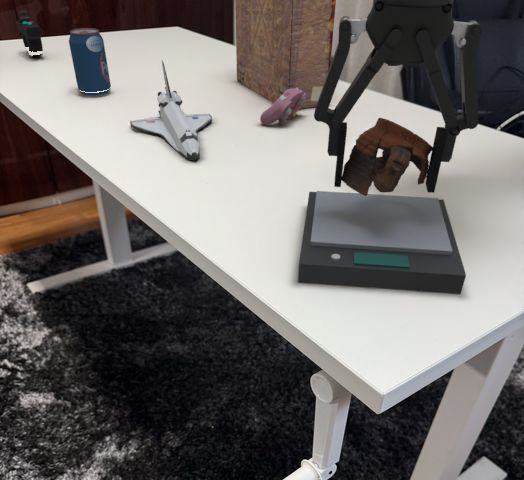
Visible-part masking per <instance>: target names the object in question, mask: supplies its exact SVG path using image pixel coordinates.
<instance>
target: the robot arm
mask: <svg viewBox="0 0 524 480" xmlns="http://www.w3.org/2000/svg"><path fill="white" fill-rule="evenodd" d="M453 5H454V0H372V6H371V10H370V11H369V13H368V15H367V16H366V18H365V17H364V18H363V17H361V18H351V17H349V16H348V15H344V16H342V17H341V18H340V20H339V23H338V42H337V45H336V48H335V51H334V53H333V56H332V59H331V65H330V68H329V71H328V74H327V76H326V79H325V82H324V85H323V88H322V91H321V93H320V96H319V99H318V102H317V105H316V106H315V108H314V113H313V118H314V120H315V121H316V122H318V123H320V122H322V123H324V124H325V125H327V127H328V139H327V141H328V142H327V154H328V156H329V157H336V163H335V172H334V173H335V174H334V186H333V187H334V188H341V187H342V175H343V171H344V160H345V151H346V142H347V132H348V122H347V121H345V120H346V118H347V117H348V115H349V114H350V112H351V111H352V110H353V108H354V106H355V105H356V104H357V102H358V100H359V99H360V98H361V96H362V95H363V94H364V92H365V91H366V89H367V87H368V86H369V85H370V84H371V82H372V80H373V79H374V77H375V76H376V75H377V74H378V73H379V72H380V70H381V68H382V67H383V65H387V67H399V66H402V65H405V66H408V67H411V68H419V67H420V66H422V65H423V66H424V67H425V70H426V72H427V76H428V79H429V81H430V84H431V87H432V91H433V93H434V96H435V99H436V102H437V104H438V107H439V111H440V113H441V116H442V119H443V123H444V126H436V131H435V135H434V139H433V144H432V147H433V150H432V151H431V152H430V158H429V167H428V173H427V175H426V179H425V181H424V183H425V187H426V192H427V193H430V194H431V193H433V194H435V191H436V187H437V182H438V178H439V173H440V169H441V165H442V163H449V162H450V161H451V160H452V158H453V153H454V149H455V145H456V142H457V141H456V140H457V137H458V136H459V135H460V134H461V132H462V131H465V130H467V129H469V130H475V129H476V128H477V127H478V125H479V101H478V99H479V97H478V77H477V76H478V70H477V49H478V46H479V43H480V40H481V36H482V32H483V28H482V26H481V25H480V24H479V23H478V22H477V21H476V20H474V19H470V20H468V21H467V22H466V21H456V20H454V18H453ZM364 32H366V34H367V36H368V37H369V40H370V41H371V44H372V45H373V49H372V50H371V52H370V53H369V54H368V56H367V58H366V60H365V62H364V63H363V65H362V67H361V68H360V69H359V71H358V72H357V74H356V75H355V77H354V79H353V80H352V81H351V83H350V85H349V86H348V88H347V90H346V91H345V92H344V94H343V95H342V97H341V98H340V100H339V101H338V103H337V105H336V106H334V107H335V108H334V109H332V108H329V107H330V105H331V102H332V100H333V97H334V94H335V91H336V89H337V86H338V83H339V80H340V78H341V75H342V73H343V72H342V71H343V70H344V67H345V64H346V61H347V59H348V56H349V53H350V49H351V45H353V44H356V43H357V42H358V41H359V39H360V36H361V34H363V33H364ZM451 35H453V36H454V43H455V45H456V46H457V47H458V48H459V66H460V67H459V69H460V86H461V106H462V113H461V114H458V115H456V111H455V109H454V105H453V103H452V100H451V97H450V94H449V91H448V87H447V84H446V82H445V79H444V76H443V73H442V70H441V69H442V68H441V66H440V63H439V60H438V56H437V54H436V52H437V51H438V50H439V49H440V47H441V46H442V45H443V44H444V43H445V42H446V41H447V39H448V38H449V37H450V36H451Z"/></svg>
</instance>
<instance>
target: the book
mask: <svg viewBox="0 0 524 480" xmlns="http://www.w3.org/2000/svg"><path fill="white" fill-rule="evenodd" d="M234 1H235V2H234V3H235V4H234V5H235V7H234V9H235V44H236V45H235V49H236V53H235V54H236V56H235V57H236V81H237V83H239V84H241V85H242V86H244V87H245V88H248V89H249V90H251V91H253V92H255V93H257V94H258V95H260V96H262V97H264V98H266V99H267V100H269V101H271V102H272V103H274V102H275V101H276V100H277V99H278V98H279V97H280V96H281V95H283V93H284V92H285V91H286V90H287V89H291V88H298V89H299V90H303V91H304V92H305V93H306V94H307V98H306V100H305V102H304V104H303V105H302V106H301V107H300V108H299V110H300V109H307V108H308V109H309V108H314V107H315V108H316V105H317V102H318V99H319V96H320V93H321V91H322V88H323V85H324V82H325V79H326V76H327V74H328V71H329V68H330V65H331V62H332V52H333V40H334V28H335V18H336V17H335V15H336V4H337V0H234Z"/></svg>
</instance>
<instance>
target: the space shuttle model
mask: <svg viewBox="0 0 524 480" xmlns="http://www.w3.org/2000/svg"><path fill="white" fill-rule="evenodd" d="M161 66H162V67H161V68H162V73H163V79H164V84H165V85H164V89H165V92H164V91H163V92H162V91H159V92H157V98H156V100H157V102H158V107H159V110H158V115H159V116H153V117H147V118H141V119H140V118H139V119H134V120H129V125H130V126H131V127H132V128H133V129H136V130H139V131H142V132H144V133H145V132H146V133H149V134H153V135H154V134H155V135H158V136H160V137H162V138H163V139H164V140H165V141H166V142H167V143H168V145H170V146H171V147H172V148H173V149H174V150H175V151H177V152H178V153H179V154H180V155H181V156H182V157H184V158H185V159H186V160H189V161H195V160H199V159H200V157H201V153H200V152H201V151H200V142H199V137H198V132H199V131H200V130H202V129H203V128H205V127H206V126H207V125H208V124H210V123H211V122H212V121H213V116H212V115H211V114H210V113H190V114H188V113H187V114H185V112H184V110H183V109H182V107H181V105H182V104H183V99H182V98H181V96H180V95H179V94H178V92H177V90H172V91H171V87H170V83H169V79H168V75H167V71H166V67H165V63H164V61H163V60H161Z"/></svg>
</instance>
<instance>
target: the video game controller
mask: <svg viewBox="0 0 524 480" xmlns="http://www.w3.org/2000/svg"><path fill="white" fill-rule="evenodd" d="M306 98H307V94H306V93H305V92H304V91H303V90H299V89H298V88H291V89H287V90H286V91H285V92H284V93H283V95H281V96H280V97H279V98H278V99H277V100H276V101H275V102H273V104H271V106H269V107H268V108H267V109H265V110H264V111H263V112H261V114H260V118H259V120H260V123H261V125H264V126H269V125H273V124H274V123H276V122H279V123H281V124H284V123H285V122H286V121H288V119H289V120H291V119H293V118H294V117H295V116H296V115H297V112H298V111H299V110H300V109H299V108H300V107H301V106H302V105H303V104H304V102H305V100H306Z"/></svg>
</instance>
